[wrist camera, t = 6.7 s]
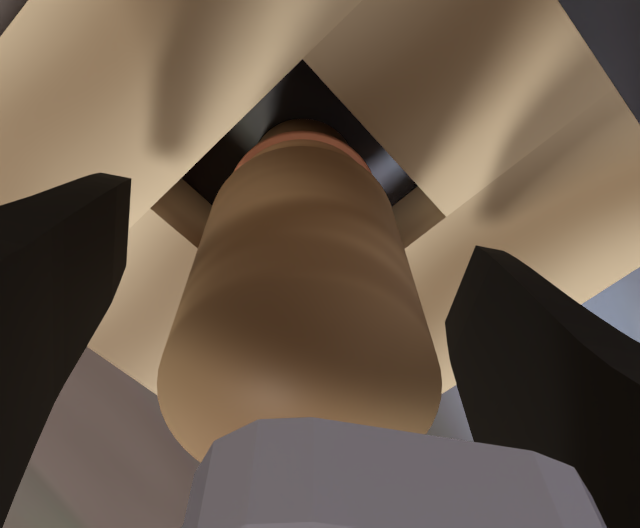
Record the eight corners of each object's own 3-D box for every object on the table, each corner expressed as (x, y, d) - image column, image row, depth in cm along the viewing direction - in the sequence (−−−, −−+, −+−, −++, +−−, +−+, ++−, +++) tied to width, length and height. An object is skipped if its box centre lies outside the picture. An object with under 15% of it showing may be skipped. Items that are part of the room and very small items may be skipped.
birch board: (654, 184, 16) (705, 224, 14) (295, 430, 21) (293, 489, 19) (311, -317, 11) (311, -373, 9) (-65, 162, 16) (-125, 200, 14)
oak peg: (389, 107, 15) (476, 296, 7) (361, 241, 17) (406, 502, 9) (235, 84, 15) (159, 258, 7) (224, 225, 17) (154, 481, 9)
